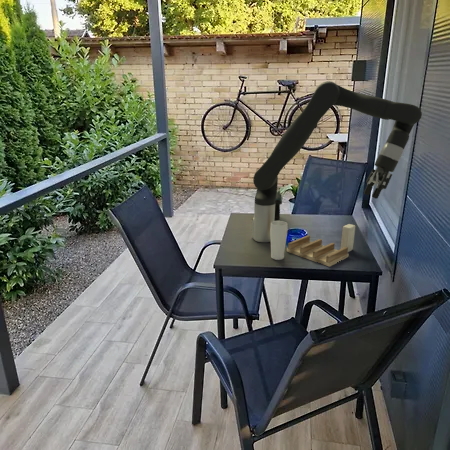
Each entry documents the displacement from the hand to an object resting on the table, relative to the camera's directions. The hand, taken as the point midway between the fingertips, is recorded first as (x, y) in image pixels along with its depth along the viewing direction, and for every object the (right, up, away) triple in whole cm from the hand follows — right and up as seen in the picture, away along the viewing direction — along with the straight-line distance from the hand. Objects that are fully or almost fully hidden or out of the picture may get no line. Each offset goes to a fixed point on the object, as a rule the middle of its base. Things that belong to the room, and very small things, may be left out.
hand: (370, 196), depth 153 cm
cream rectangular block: (-4, -22, +15) cm, 27 cm away
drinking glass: (-35, -25, +7) cm, 44 cm away
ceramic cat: (-31, -9, +54) cm, 63 cm away
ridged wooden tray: (-18, -23, +11) cm, 32 cm away
